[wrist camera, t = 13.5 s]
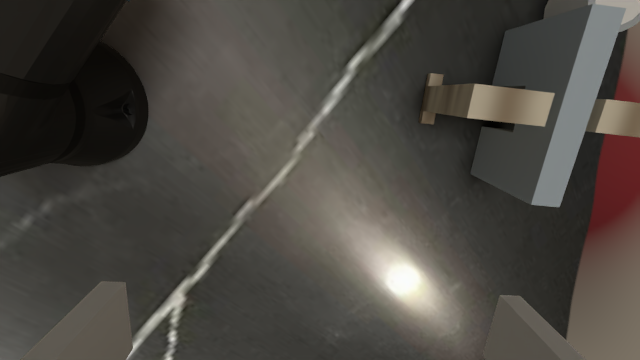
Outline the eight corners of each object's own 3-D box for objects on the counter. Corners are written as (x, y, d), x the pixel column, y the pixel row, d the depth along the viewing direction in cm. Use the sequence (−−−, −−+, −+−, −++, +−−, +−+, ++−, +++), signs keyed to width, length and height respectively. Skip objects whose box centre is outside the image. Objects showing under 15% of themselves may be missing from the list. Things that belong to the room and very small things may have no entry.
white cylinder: (536, -12, 36) (588, -36, 30) (594, -28, 36) (660, -56, 29) (539, 49, 38) (589, 40, 31) (595, 34, 38) (657, 22, 31)
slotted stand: (418, 122, 40) (462, 134, 29) (427, 73, 38) (479, 65, 27) (563, 138, 41) (662, 155, 30) (578, 91, 40) (689, 91, 28)
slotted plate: (491, 176, 42) (559, 207, 31) (470, 174, 42) (530, 204, 31) (528, 34, 38) (626, 8, 26) (505, 31, 37) (592, 3, 26)
